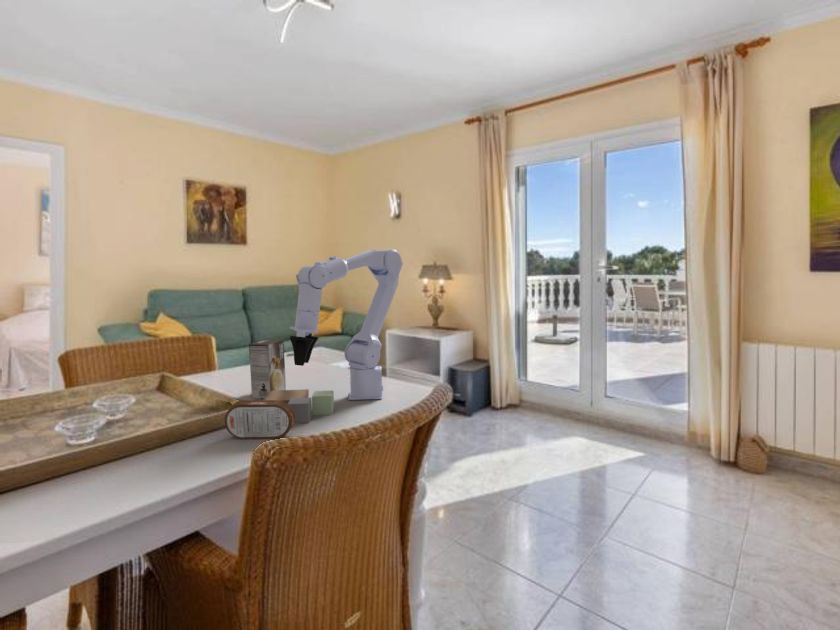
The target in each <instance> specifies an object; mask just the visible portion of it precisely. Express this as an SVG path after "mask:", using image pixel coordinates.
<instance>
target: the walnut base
mask: <svg viewBox="0 0 840 630" xmlns="http://www.w3.org/2000/svg"><path fill="white" fill-rule="evenodd" d="M309 391H310V390H309V389H307V388H306V389H286V390H275V391H271V392H270V394H269V395H268V396H267V398H266V399H264V400H279V401H283V402H285V403H287V404H288V402H289V401H290V399H291V398H310V395H309V394H310V393H309Z"/></svg>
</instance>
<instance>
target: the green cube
mask: <svg viewBox="0 0 840 630" xmlns="http://www.w3.org/2000/svg"><path fill="white" fill-rule="evenodd" d="M334 394H335V393H334V390H315V391H313V393H312V395H311V403H312V416H321V415H322V416H323V415H325V414H329V415H333V412H334V410H333V409H335V400H334V399H335V398H334V396H335V395H334ZM325 416H326V415H325Z"/></svg>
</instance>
